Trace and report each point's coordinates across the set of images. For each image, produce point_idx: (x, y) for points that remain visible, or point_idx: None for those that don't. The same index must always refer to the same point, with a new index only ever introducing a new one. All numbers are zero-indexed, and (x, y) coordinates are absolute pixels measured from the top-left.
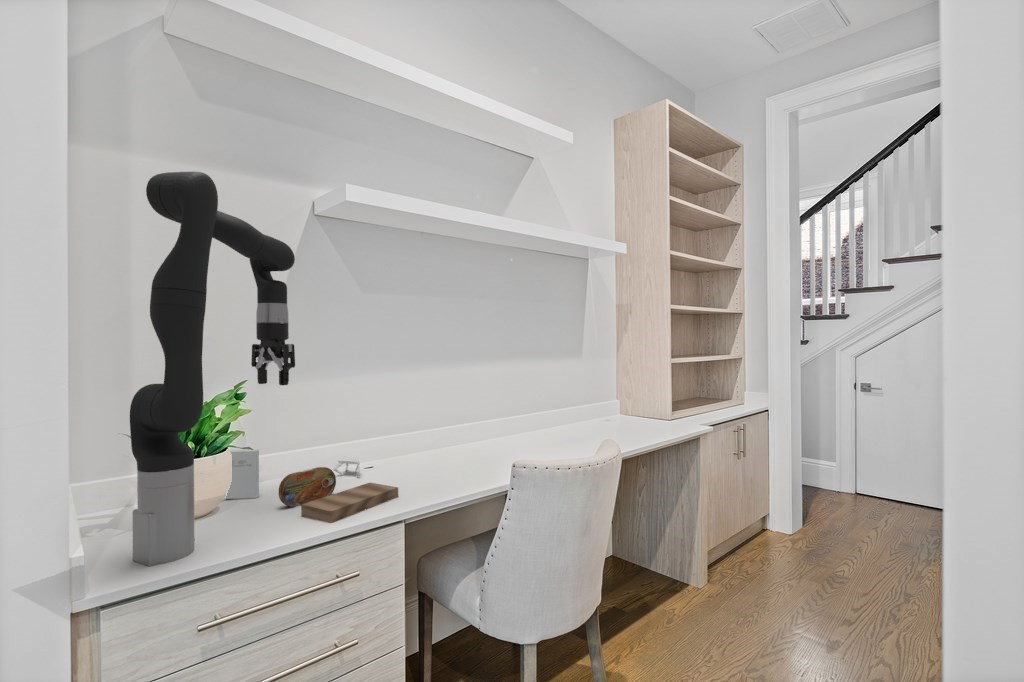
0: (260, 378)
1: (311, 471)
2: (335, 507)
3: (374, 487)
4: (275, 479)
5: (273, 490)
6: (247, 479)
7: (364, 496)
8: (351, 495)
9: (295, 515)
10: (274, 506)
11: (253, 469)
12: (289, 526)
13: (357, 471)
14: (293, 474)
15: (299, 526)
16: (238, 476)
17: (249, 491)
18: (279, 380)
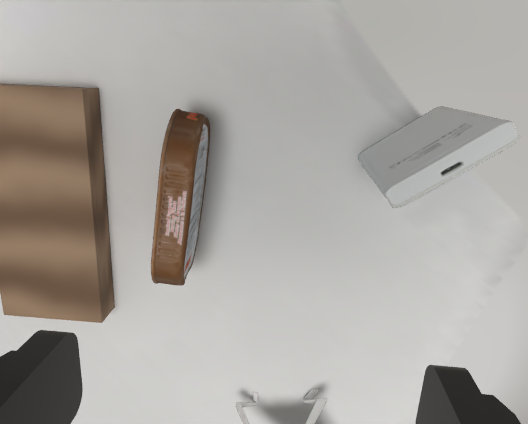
0: (446, 415)
1: (161, 221)
2: None
3: (52, 290)
4: (468, 309)
5: (376, 228)
6: (393, 150)
7: (6, 219)
8: (41, 211)
9: (127, 94)
10: (243, 123)
11: (380, 167)
12: (65, 24)
13: (240, 404)
14: (168, 161)
15: (44, 36)
16: (423, 136)
17: (379, 146)
18: (36, 358)
